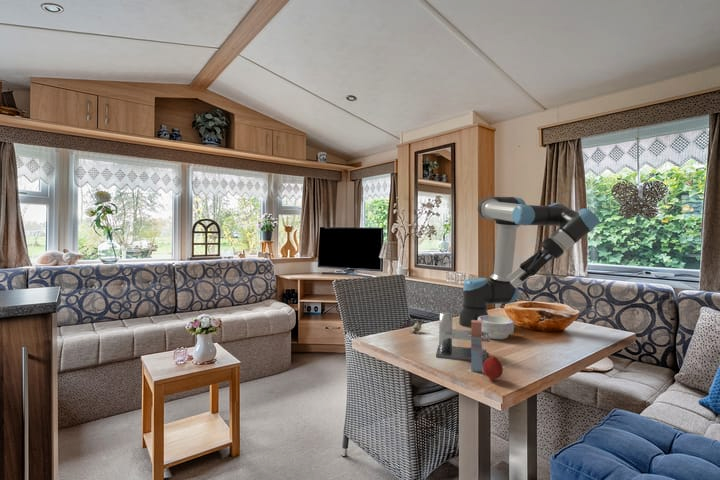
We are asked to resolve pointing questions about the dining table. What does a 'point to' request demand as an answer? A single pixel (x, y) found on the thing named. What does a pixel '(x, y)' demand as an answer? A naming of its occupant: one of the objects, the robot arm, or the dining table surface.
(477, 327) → the pink rectangular block
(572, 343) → the dining table surface
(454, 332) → the grey stand
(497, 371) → the onion
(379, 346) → the dining table surface
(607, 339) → the dining table surface
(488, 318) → the paper bowls
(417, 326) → the greenish grey small figure
